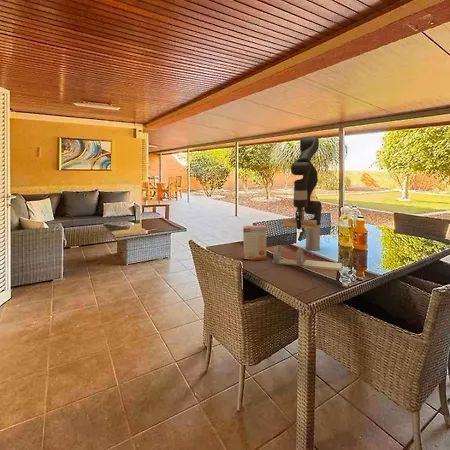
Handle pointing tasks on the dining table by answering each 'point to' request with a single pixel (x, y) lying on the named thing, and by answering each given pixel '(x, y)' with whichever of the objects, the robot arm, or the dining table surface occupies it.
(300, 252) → the standards
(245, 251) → the cracker box
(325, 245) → the dining table surface
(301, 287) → the dining table surface
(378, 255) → the dining table surface
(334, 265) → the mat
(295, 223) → the rail
